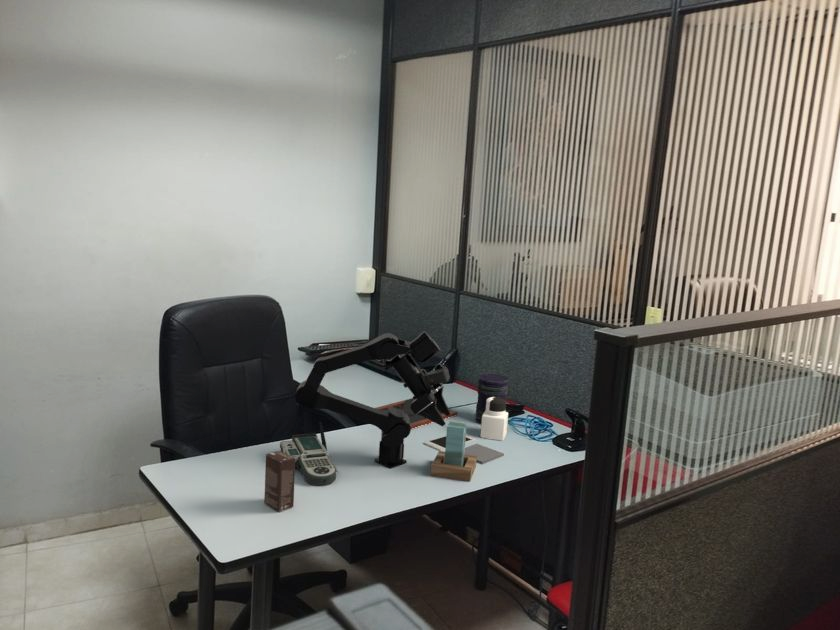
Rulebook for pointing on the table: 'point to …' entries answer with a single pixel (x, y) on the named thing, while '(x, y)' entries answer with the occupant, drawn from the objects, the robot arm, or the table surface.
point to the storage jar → (489, 391)
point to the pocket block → (453, 468)
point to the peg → (455, 443)
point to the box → (279, 481)
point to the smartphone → (443, 442)
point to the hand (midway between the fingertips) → (446, 419)
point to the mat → (482, 453)
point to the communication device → (311, 458)
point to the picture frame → (414, 418)
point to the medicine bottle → (494, 419)
